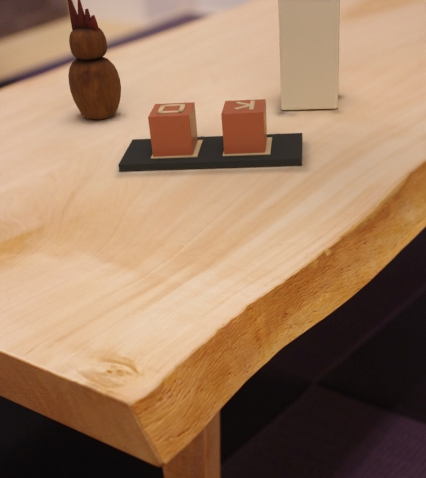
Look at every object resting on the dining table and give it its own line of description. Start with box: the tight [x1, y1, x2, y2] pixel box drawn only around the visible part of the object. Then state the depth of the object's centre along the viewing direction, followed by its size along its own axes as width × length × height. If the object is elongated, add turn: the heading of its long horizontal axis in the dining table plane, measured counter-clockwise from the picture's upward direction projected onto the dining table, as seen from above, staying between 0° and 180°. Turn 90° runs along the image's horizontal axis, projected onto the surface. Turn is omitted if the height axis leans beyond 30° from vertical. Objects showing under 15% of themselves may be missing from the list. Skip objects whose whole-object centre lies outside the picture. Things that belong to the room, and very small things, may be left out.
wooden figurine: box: [67, 0, 122, 120], centre depth 95 cm, size 7×6×15 cm
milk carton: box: [277, 0, 341, 111], centre depth 92 cm, size 7×7×19 cm
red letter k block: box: [220, 98, 268, 154], centre depth 82 cm, size 4×4×5 cm
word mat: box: [118, 132, 303, 172], centre depth 84 cm, size 20×8×1 cm, turn 84°
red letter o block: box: [147, 101, 199, 156], centre depth 83 cm, size 4×4×5 cm
